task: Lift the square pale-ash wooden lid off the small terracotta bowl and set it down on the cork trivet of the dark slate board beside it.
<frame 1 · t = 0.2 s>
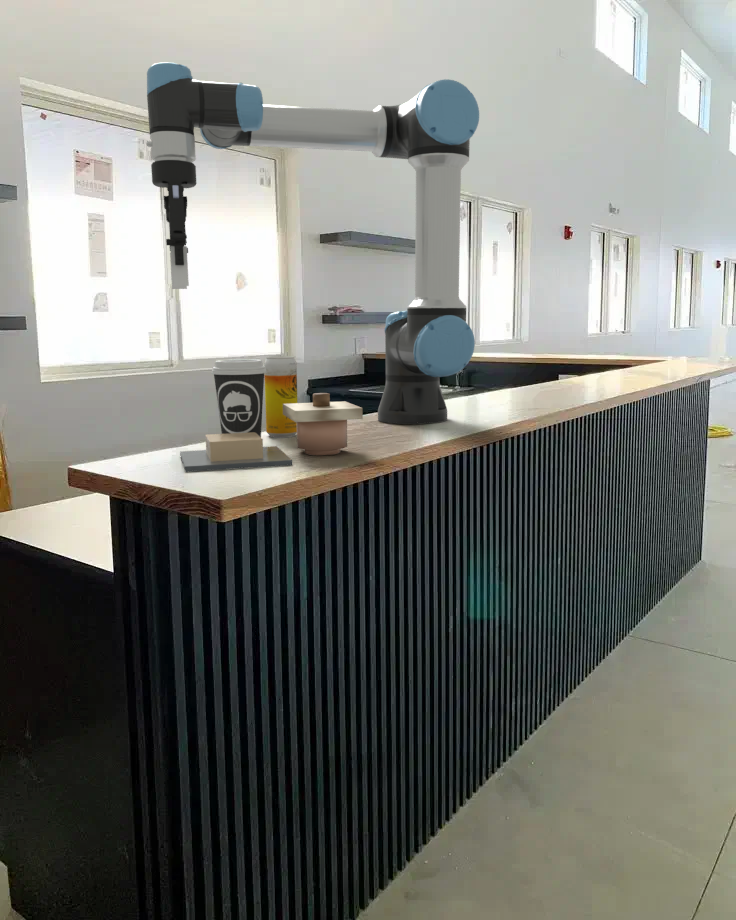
hand: (179, 287, 140), 28 cm above the table, fingers open, 13 cm apart
bowl: (322, 452, 131), on the table
lid: (321, 416, 130), point 6 cm above the table, touching bowl
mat: (234, 460, 124), on the table
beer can: (282, 436, 150), on the table
coffee cup: (242, 447, 139), on the table
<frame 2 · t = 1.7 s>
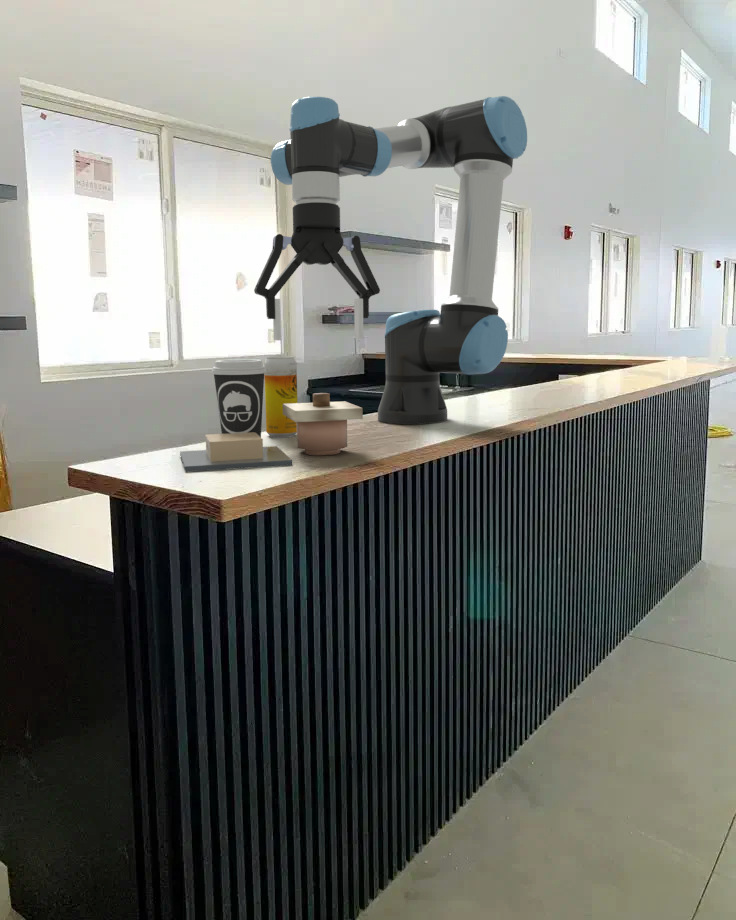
hand: (318, 339, 128), 19 cm above the table, fingers open, 13 cm apart
nothing on the table moved.
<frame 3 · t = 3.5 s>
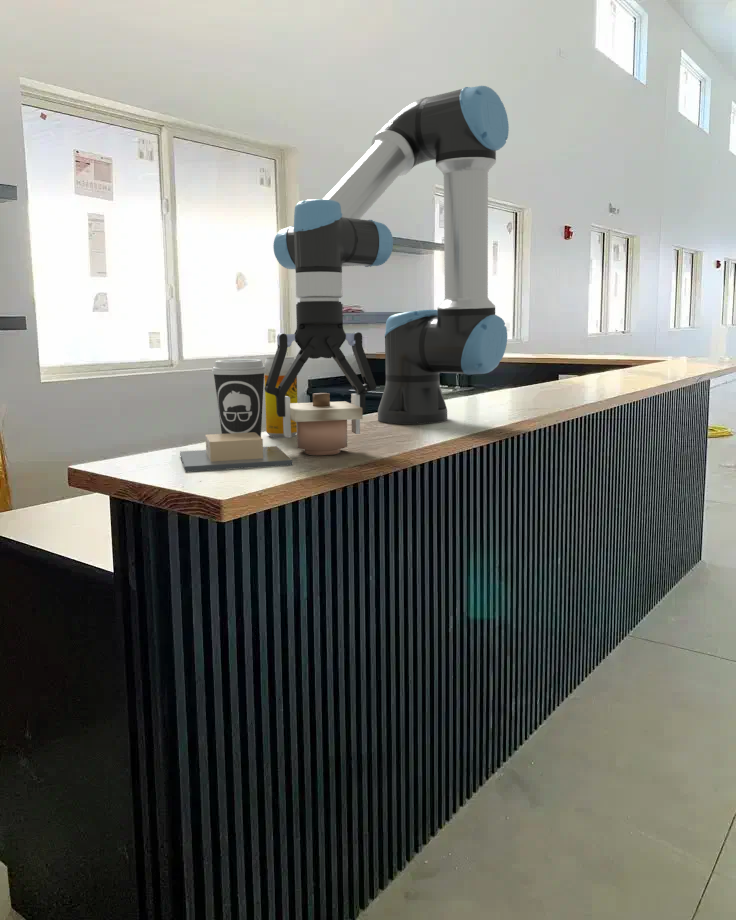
hand: (322, 434, 131), 3 cm above the table, fingers closed on lid, 11 cm apart
lid: (321, 416, 130), point 6 cm above the table, touching bowl, gripper
everything else where it was.
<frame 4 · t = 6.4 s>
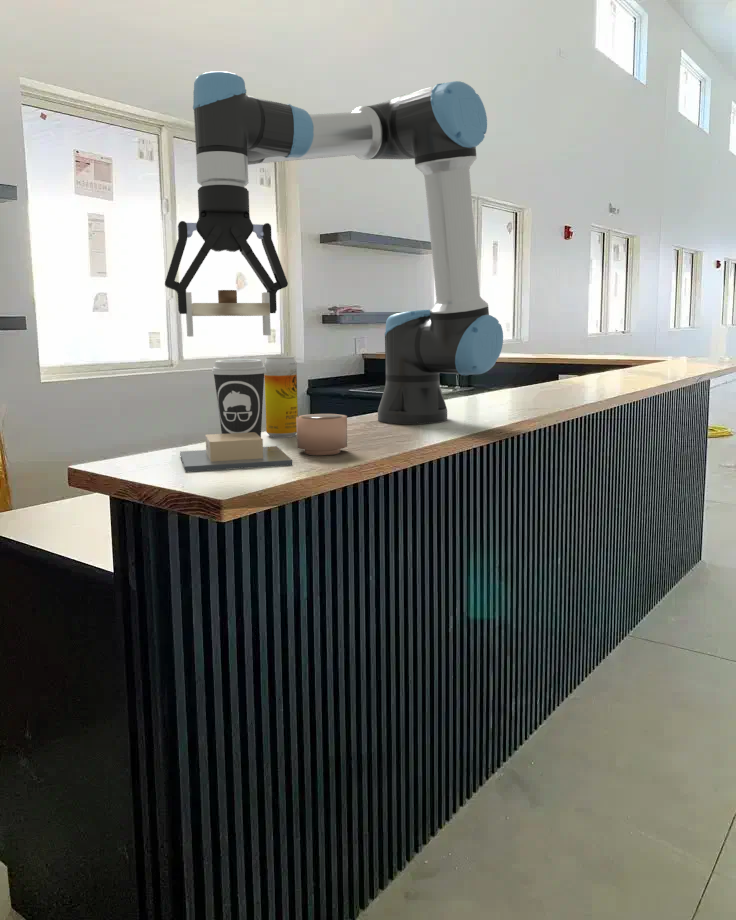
hand: (229, 335, 121), 20 cm above the table, fingers closed on lid, 11 cm apart
lid: (228, 315, 120), point 23 cm above the table, touching gripper
everything else where it was.
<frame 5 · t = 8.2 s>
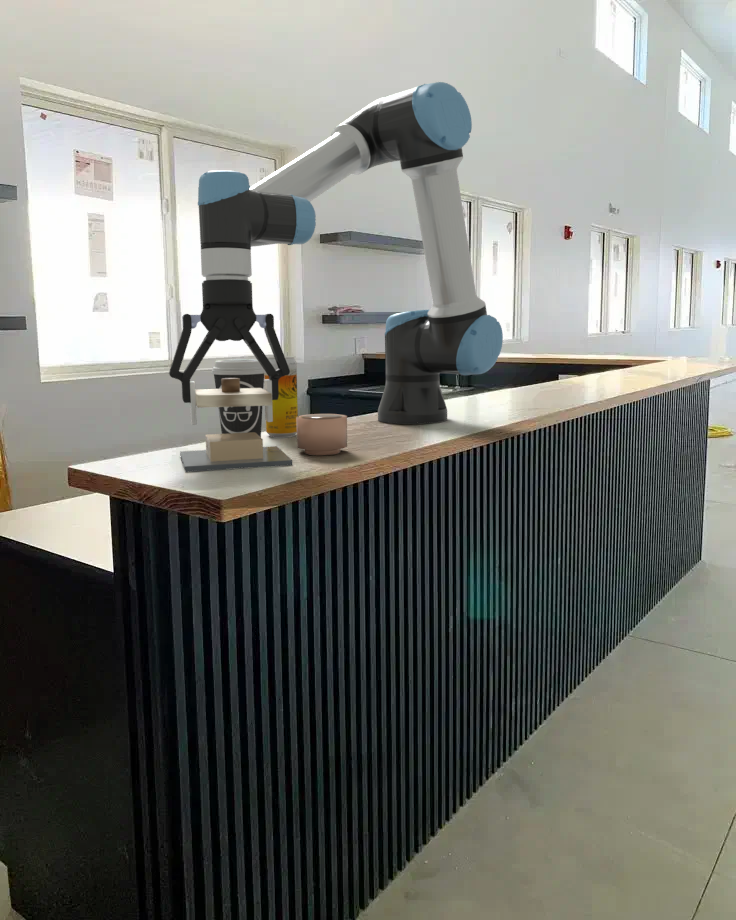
hand: (231, 422, 123), 6 cm above the table, fingers closed on lid, 11 cm apart
lid: (231, 402, 123), point 9 cm above the table, touching gripper
everything else where it was.
when the fingers open (2 cm above the table, at t = 9.5 s): lid drops 1 cm, resting on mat.
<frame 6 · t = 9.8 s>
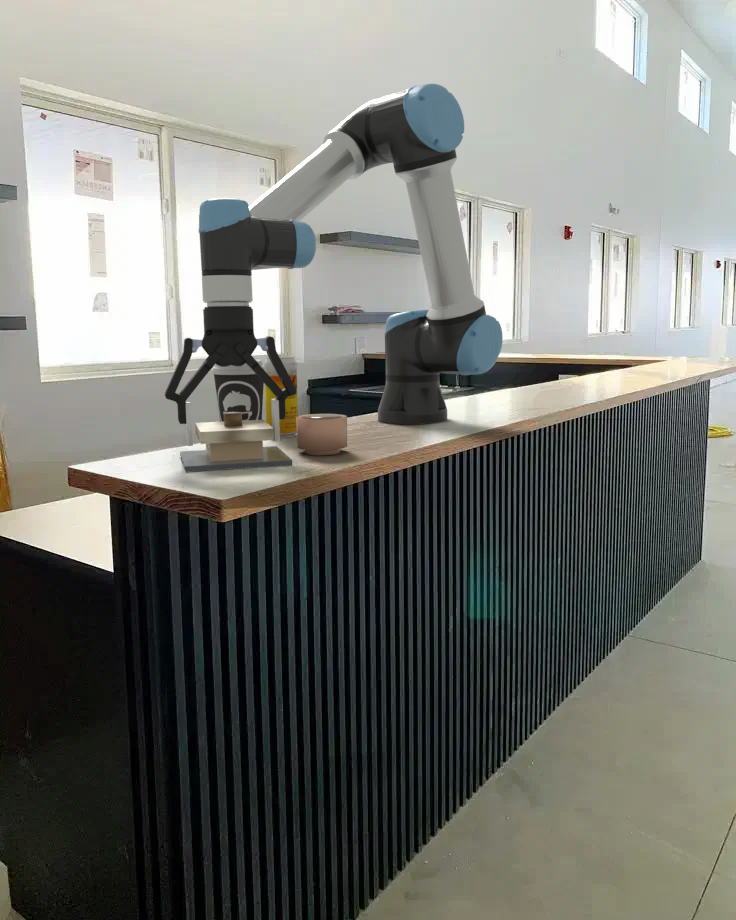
hand: (233, 442, 124), 3 cm above the table, fingers open, 13 cm apart
lid: (233, 436, 124), point 4 cm above the table, touching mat
everything else where it was.
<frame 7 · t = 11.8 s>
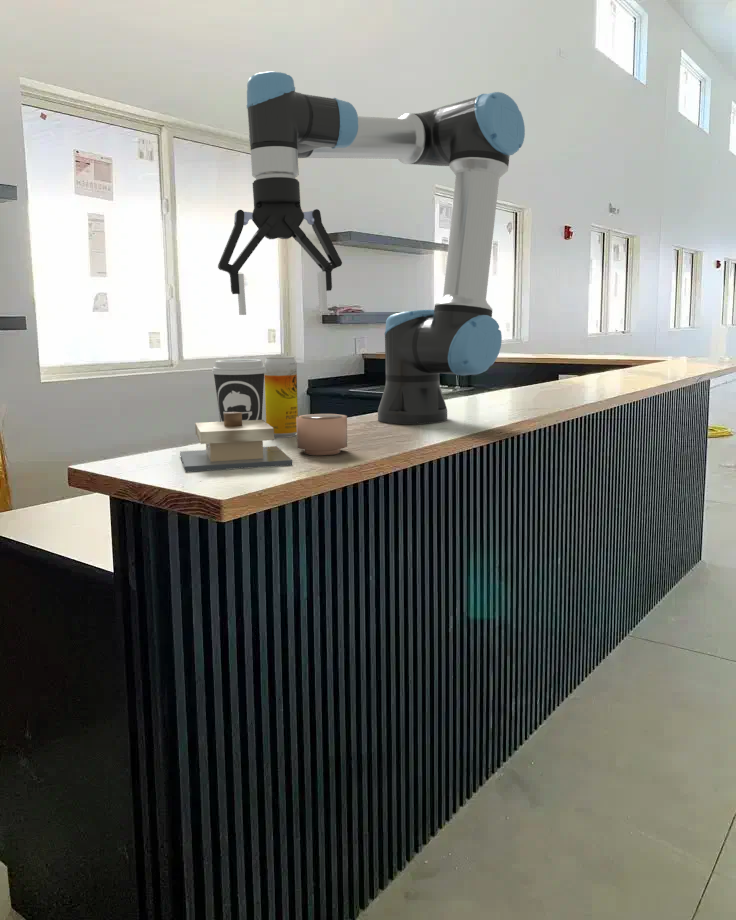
hand: (283, 313, 131), 23 cm above the table, fingers open, 13 cm apart
nothing on the table moved.
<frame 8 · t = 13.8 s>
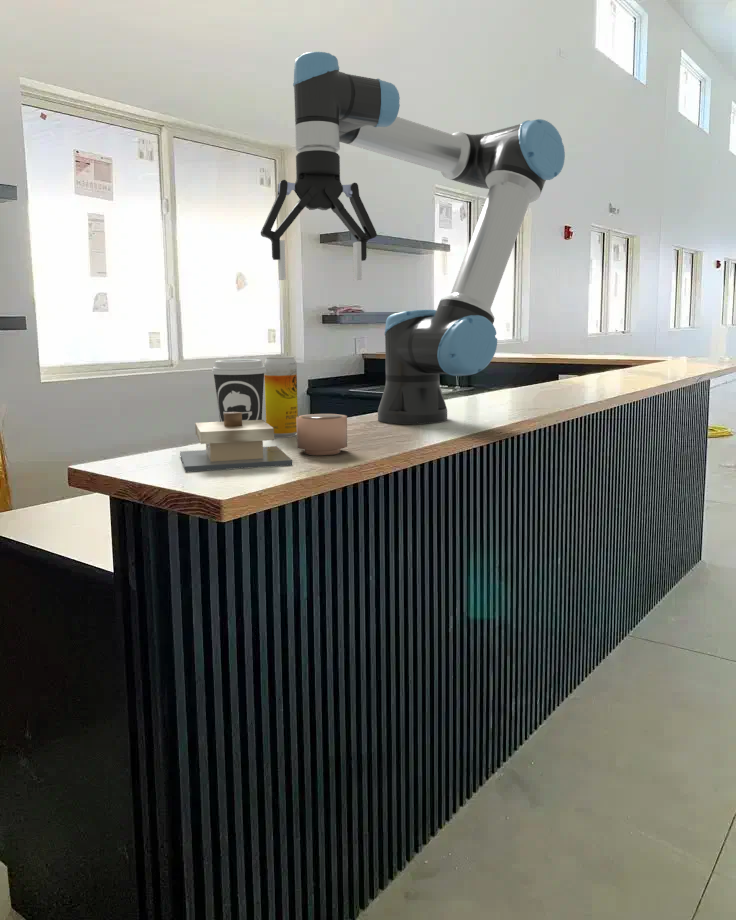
hand: (320, 280, 138), 29 cm above the table, fingers open, 13 cm apart
nothing on the table moved.
at the end: lid inside the target area on the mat (0.1 cm from its centre), point 3.8 cm above the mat's base; lid touching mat; lid tilted 0° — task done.
